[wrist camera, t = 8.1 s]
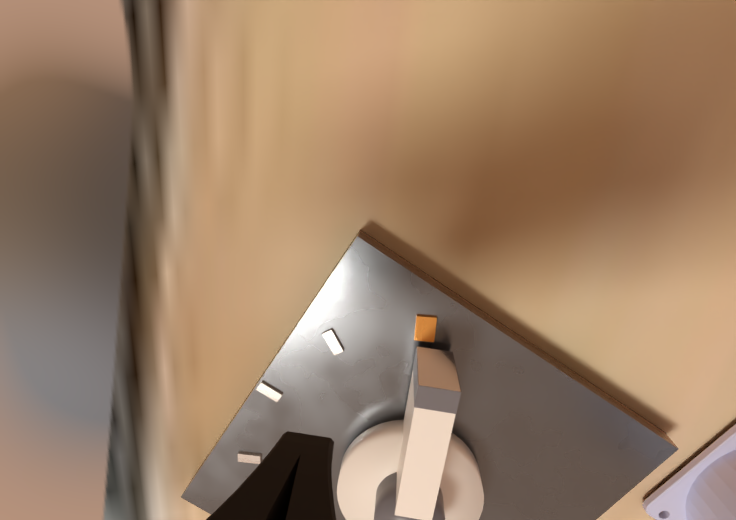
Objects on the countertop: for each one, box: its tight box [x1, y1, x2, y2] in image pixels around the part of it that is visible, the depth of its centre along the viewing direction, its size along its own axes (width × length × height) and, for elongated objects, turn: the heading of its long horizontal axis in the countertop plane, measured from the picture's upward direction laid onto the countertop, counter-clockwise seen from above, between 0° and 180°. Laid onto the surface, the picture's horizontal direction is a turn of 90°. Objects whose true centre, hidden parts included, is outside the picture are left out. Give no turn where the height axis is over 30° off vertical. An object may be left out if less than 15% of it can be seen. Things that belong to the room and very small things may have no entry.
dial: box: [337, 346, 484, 520], centre depth 19 cm, size 11×7×3 cm, turn 173°
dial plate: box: [181, 230, 678, 520], centre depth 22 cm, size 18×18×1 cm
